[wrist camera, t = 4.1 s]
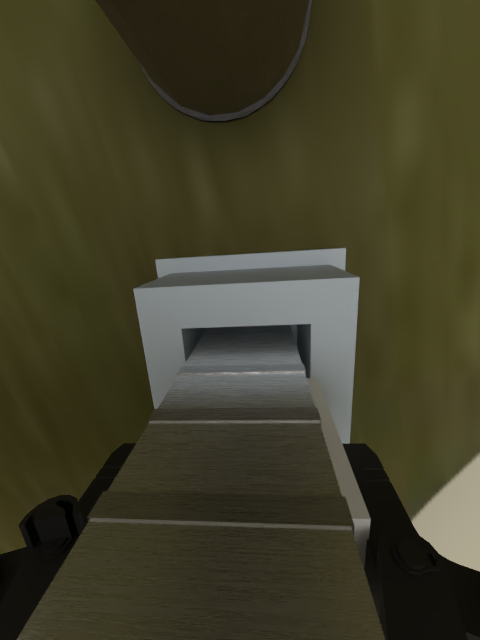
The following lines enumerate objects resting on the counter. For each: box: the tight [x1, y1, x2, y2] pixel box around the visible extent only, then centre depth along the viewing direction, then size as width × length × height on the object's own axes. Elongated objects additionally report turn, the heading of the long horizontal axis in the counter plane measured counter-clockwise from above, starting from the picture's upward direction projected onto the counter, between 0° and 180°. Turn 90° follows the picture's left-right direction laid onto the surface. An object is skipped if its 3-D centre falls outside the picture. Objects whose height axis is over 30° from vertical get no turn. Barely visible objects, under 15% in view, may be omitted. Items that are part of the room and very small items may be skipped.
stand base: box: [133, 248, 360, 444], centre depth 17 cm, size 13×13×9 cm
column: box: [17, 325, 385, 640], centre depth 11 cm, size 5×7×19 cm
